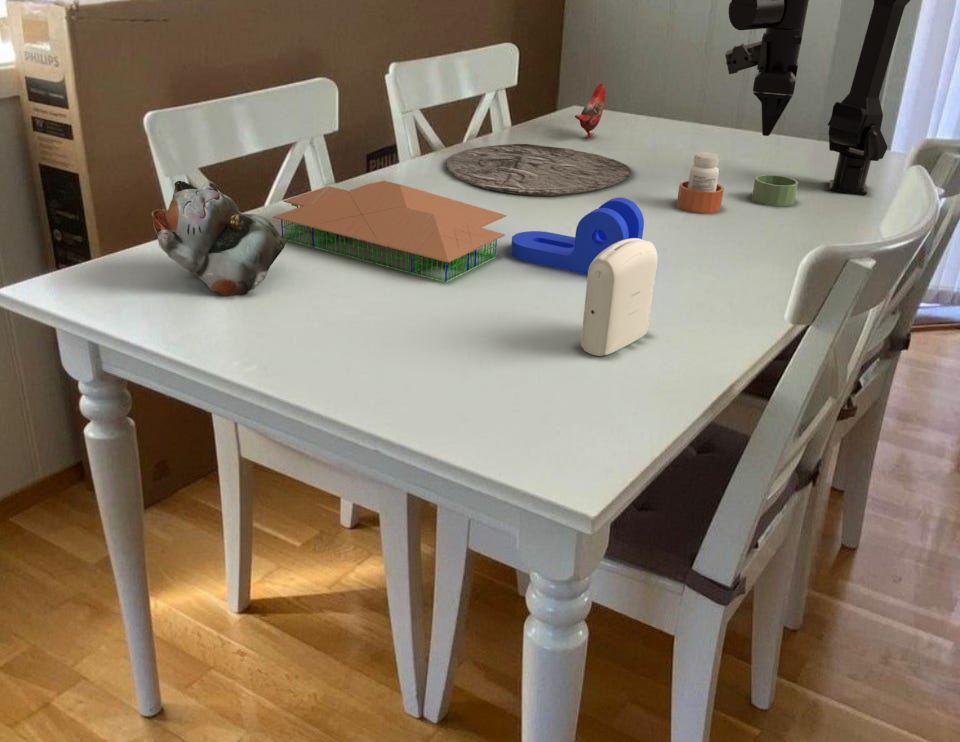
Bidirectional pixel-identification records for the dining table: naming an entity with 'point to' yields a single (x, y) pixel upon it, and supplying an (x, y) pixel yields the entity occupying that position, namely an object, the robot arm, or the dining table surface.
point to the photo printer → (619, 296)
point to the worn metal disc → (536, 169)
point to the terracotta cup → (699, 199)
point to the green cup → (774, 190)
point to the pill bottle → (704, 172)
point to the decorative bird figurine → (593, 110)
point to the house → (396, 223)
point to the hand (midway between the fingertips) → (767, 129)
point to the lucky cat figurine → (217, 239)
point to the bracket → (581, 237)
